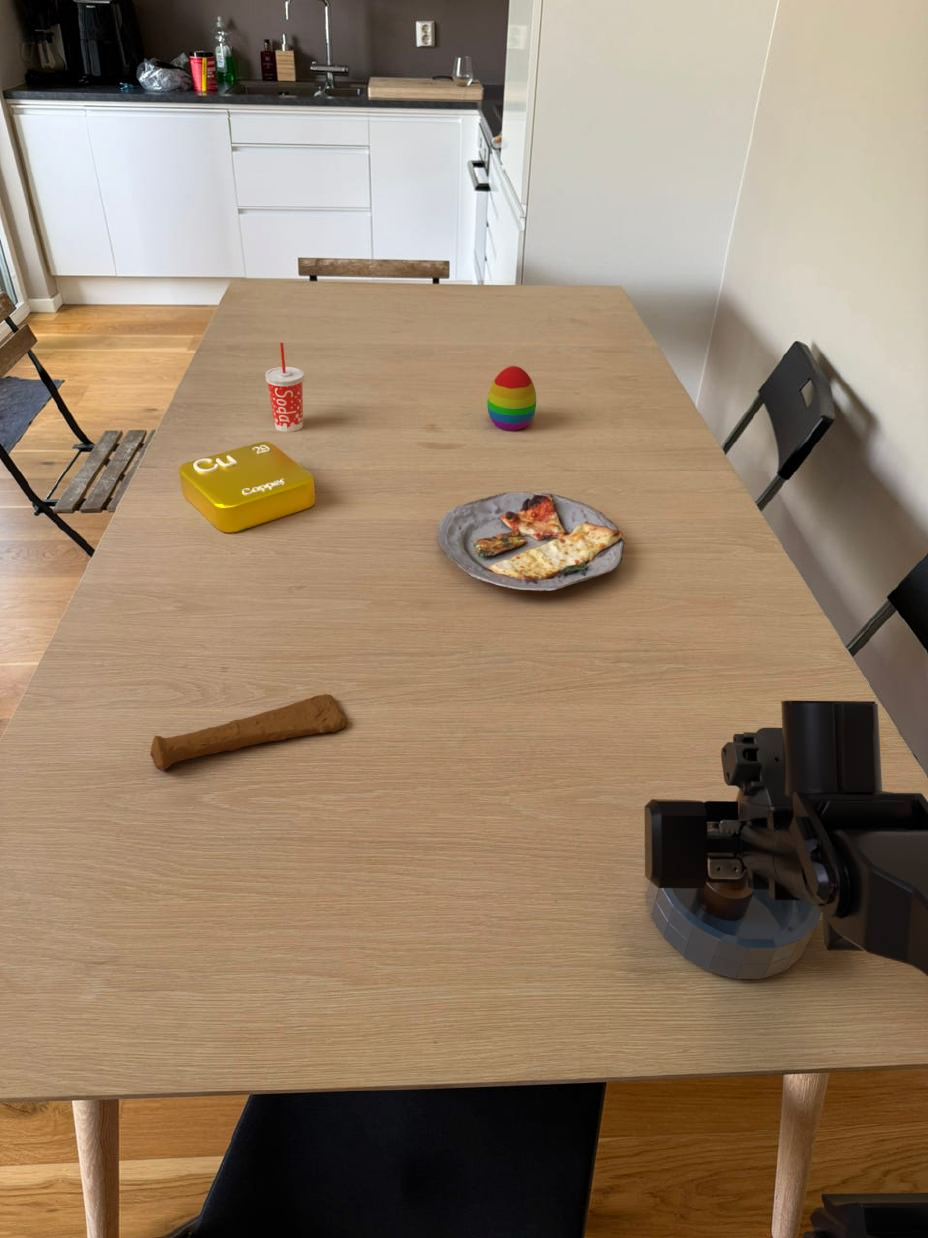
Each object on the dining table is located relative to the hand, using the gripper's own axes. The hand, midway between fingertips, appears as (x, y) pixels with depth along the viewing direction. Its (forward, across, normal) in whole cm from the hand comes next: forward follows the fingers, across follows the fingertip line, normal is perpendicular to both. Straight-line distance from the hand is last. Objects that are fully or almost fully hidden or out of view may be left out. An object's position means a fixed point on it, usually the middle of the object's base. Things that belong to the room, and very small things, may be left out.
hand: (735, 832), depth 74 cm
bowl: (+4, 0, +7) cm, 8 cm away
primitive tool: (+18, +44, -7) cm, 48 cm away
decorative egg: (+71, +13, -60) cm, 94 cm away
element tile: (+52, +53, -41) cm, 84 cm away
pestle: (+4, 0, +6) cm, 7 cm away
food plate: (+43, +13, -32) cm, 56 cm away
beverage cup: (+69, +50, -58) cm, 103 cm away
